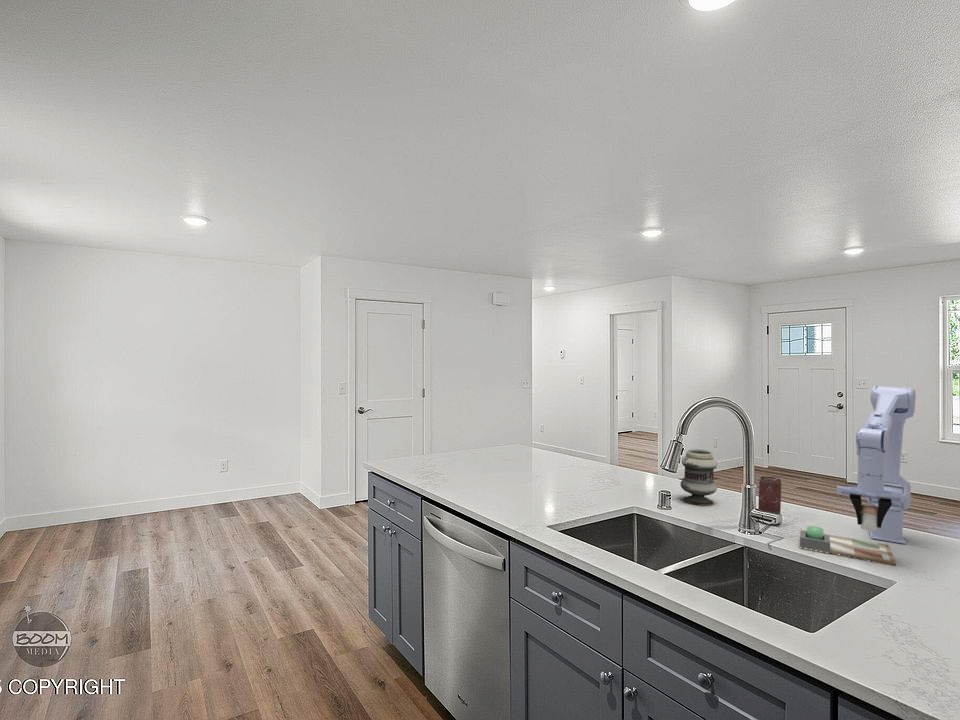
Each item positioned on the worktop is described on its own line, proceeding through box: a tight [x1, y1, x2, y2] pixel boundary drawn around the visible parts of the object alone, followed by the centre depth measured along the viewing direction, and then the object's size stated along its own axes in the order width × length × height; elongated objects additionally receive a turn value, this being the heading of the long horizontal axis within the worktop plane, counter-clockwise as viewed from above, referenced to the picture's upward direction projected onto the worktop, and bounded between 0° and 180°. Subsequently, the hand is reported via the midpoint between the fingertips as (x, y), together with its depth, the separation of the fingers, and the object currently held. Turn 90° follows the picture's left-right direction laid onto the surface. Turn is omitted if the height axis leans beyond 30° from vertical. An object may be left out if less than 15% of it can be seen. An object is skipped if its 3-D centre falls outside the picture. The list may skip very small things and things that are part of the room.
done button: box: [806, 525, 824, 540], centre depth 149 cm, size 4×4×3 cm
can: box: [757, 476, 782, 515], centre depth 170 cm, size 6×6×14 cm
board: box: [799, 529, 897, 567], centre depth 149 cm, size 16×21×1 cm
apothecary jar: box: [680, 448, 718, 507], centre depth 192 cm, size 12×12×18 cm
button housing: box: [799, 530, 830, 552], centre depth 149 cm, size 7×7×2 cm
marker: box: [860, 503, 878, 532], centre depth 143 cm, size 4×4×6 cm
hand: (869, 525), depth 143 cm, fingers closed on marker, 4 cm apart
